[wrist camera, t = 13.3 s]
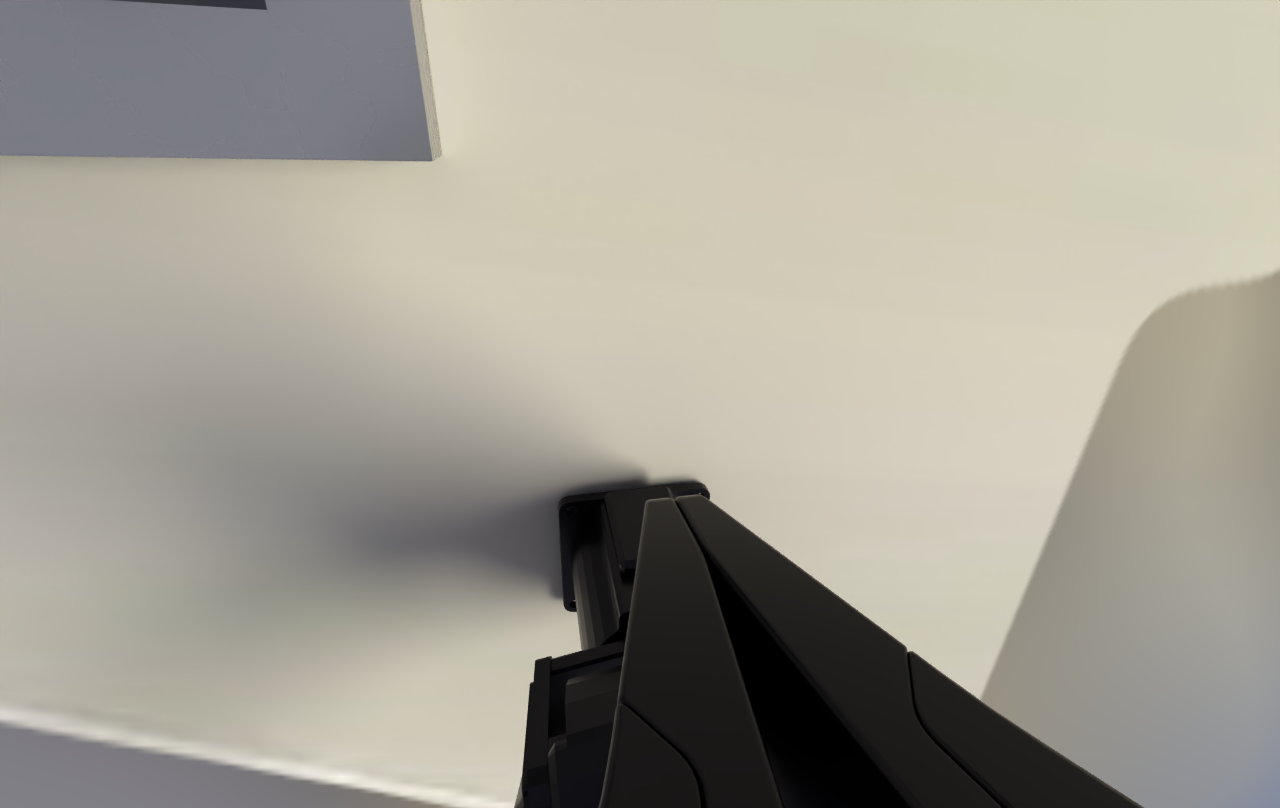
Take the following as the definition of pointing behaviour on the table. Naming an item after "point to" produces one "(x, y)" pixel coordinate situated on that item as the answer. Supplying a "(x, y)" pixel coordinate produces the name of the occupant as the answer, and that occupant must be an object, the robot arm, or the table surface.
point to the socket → (217, 79)
